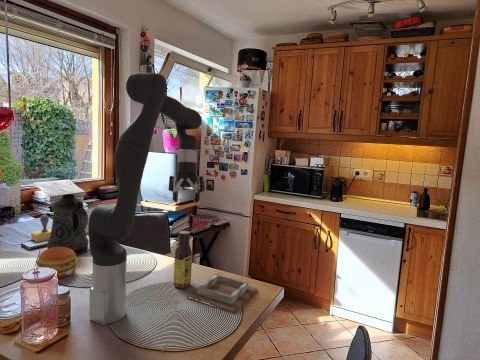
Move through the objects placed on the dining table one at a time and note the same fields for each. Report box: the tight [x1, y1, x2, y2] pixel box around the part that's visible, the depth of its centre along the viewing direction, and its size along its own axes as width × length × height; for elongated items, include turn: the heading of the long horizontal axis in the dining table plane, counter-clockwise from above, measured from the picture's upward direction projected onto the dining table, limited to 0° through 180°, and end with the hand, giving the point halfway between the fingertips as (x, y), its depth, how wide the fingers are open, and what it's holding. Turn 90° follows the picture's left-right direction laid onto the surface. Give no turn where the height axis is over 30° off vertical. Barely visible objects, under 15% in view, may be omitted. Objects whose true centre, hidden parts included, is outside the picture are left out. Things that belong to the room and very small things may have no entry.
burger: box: [36, 247, 78, 279], centre depth 124 cm, size 14×14×10 cm
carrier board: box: [186, 273, 258, 314], centre depth 116 cm, size 18×18×4 cm
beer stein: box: [46, 193, 89, 255], centre depth 147 cm, size 16×19×25 cm
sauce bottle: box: [173, 230, 193, 289], centre depth 120 cm, size 7×6×20 cm
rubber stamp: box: [30, 214, 52, 243], centre depth 160 cm, size 10×6×12 cm, turn 147°
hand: (186, 202), depth 132 cm, fingers open, 8 cm apart
